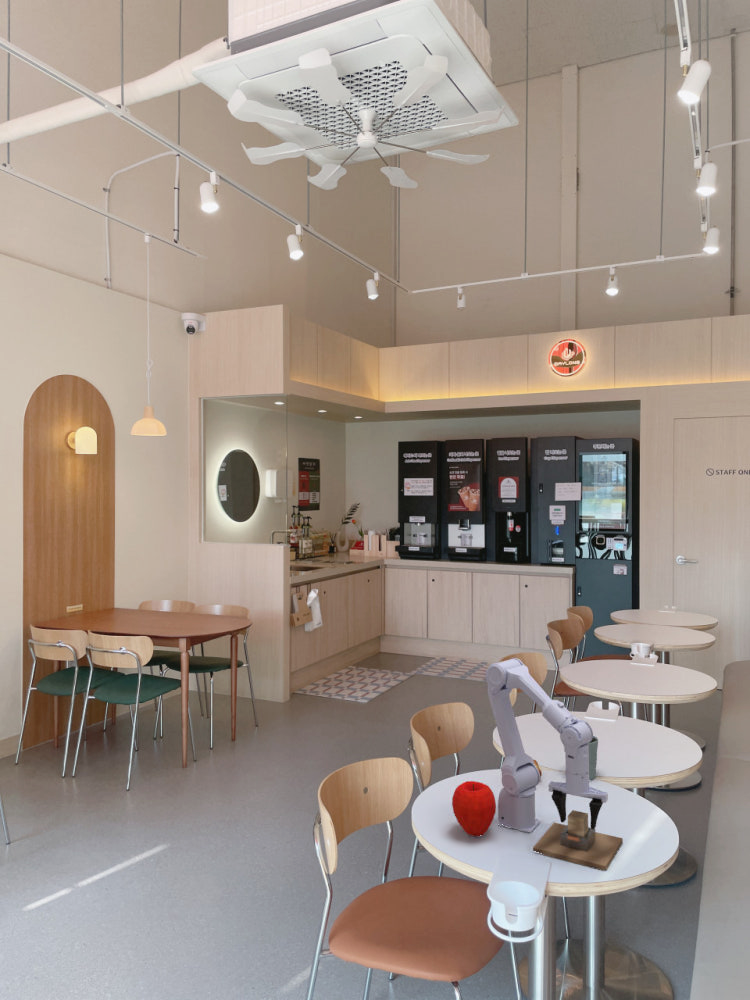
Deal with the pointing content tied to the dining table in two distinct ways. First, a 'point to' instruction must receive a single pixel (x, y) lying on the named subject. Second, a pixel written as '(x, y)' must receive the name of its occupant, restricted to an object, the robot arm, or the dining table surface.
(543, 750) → the dining table surface
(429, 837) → the dining table surface
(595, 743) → the green cup
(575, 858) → the board
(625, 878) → the dining table surface
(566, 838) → the sleeve
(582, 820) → the post
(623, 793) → the dining table surface
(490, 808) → the apple
